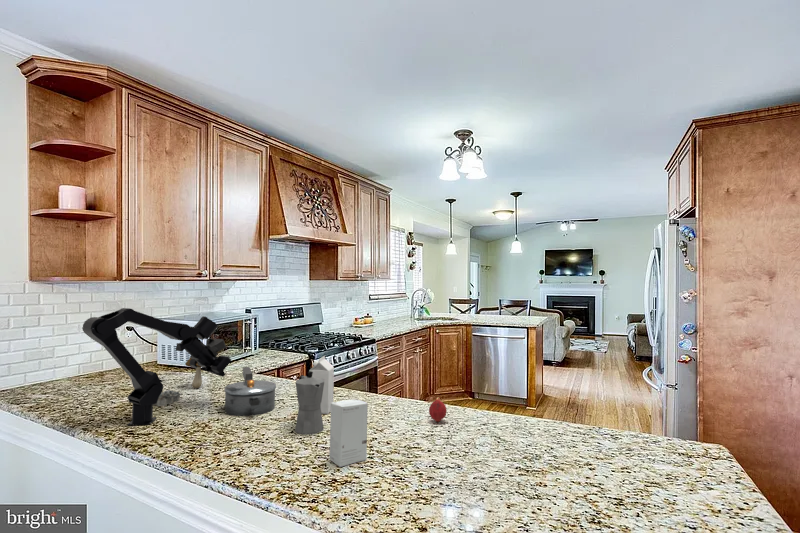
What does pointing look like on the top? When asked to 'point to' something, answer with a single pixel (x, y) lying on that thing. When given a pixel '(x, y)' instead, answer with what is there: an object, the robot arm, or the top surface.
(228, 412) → the cooking pot
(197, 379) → the mushroom
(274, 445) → the top surface
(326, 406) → the milk carton
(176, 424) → the top surface
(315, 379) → the coffeepot
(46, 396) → the top surface
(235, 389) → the pot lid
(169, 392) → the egg carton
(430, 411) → the onion
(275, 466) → the top surface
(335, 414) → the skincare box
